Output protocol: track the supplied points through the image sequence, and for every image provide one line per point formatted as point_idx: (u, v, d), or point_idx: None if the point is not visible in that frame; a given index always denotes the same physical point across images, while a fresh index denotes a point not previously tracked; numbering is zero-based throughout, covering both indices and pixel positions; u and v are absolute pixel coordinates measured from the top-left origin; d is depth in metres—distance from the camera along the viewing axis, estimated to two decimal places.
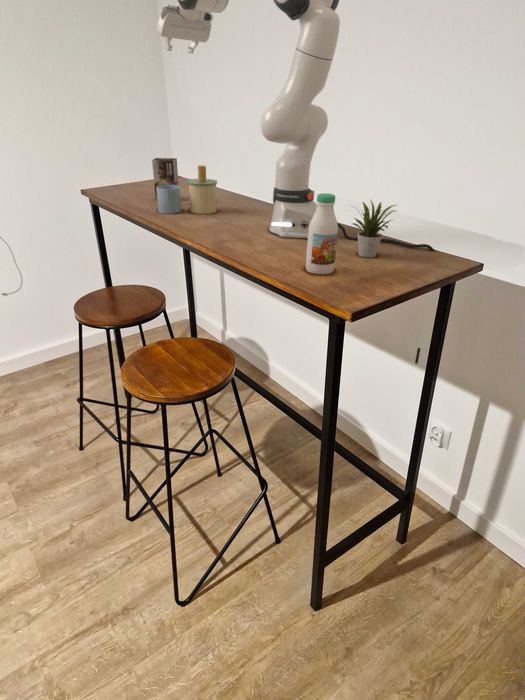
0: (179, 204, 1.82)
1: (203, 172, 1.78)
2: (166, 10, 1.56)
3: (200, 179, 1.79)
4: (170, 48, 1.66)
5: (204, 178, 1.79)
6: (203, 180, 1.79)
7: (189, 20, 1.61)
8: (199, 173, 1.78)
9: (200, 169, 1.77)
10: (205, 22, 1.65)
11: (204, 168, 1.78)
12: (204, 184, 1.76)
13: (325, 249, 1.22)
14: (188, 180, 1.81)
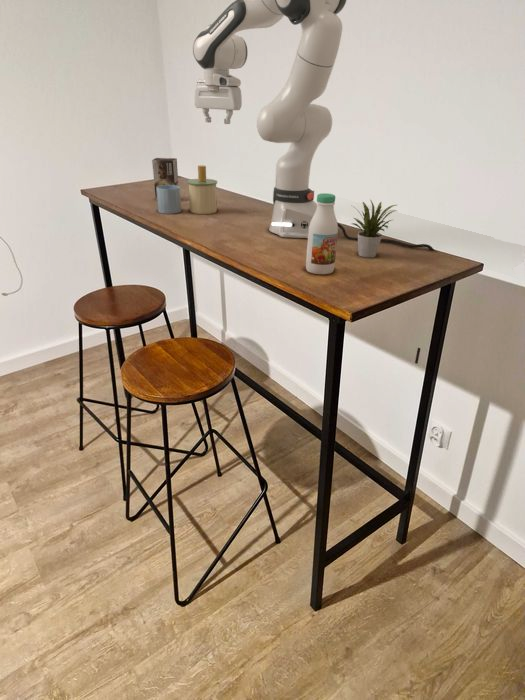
0: (179, 204, 1.82)
1: (203, 172, 1.78)
2: (198, 84, 1.73)
3: (200, 179, 1.79)
4: (206, 119, 1.75)
5: (204, 178, 1.79)
6: (203, 180, 1.79)
7: (209, 87, 1.67)
8: (199, 173, 1.78)
9: (200, 169, 1.77)
10: (224, 87, 1.63)
11: (204, 168, 1.78)
12: (204, 184, 1.76)
13: (325, 249, 1.22)
14: (188, 180, 1.81)
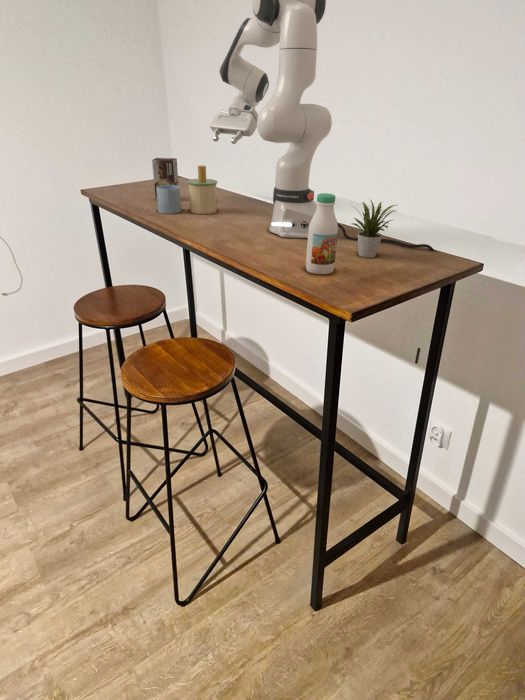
0: (179, 204, 1.82)
1: (203, 172, 1.78)
2: None
3: (200, 179, 1.79)
4: (214, 136, 1.85)
5: (204, 178, 1.79)
6: (203, 180, 1.79)
7: (231, 111, 1.82)
8: (199, 173, 1.78)
9: (200, 169, 1.77)
10: (246, 112, 1.79)
11: (204, 168, 1.78)
12: (204, 184, 1.76)
13: (325, 249, 1.22)
14: (188, 180, 1.81)
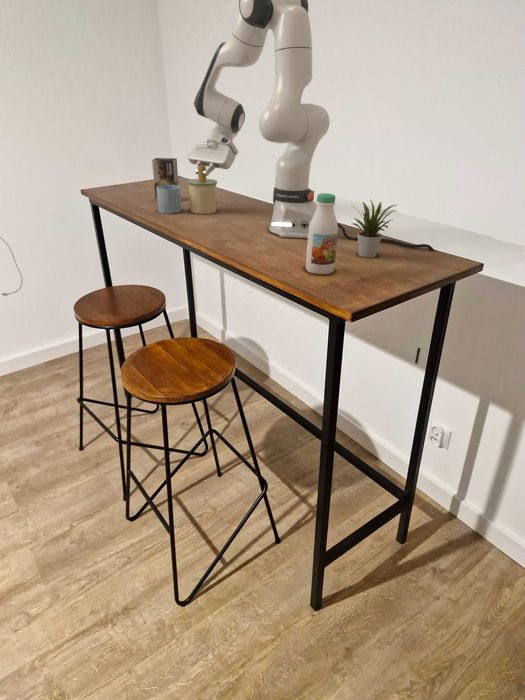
0: (179, 204, 1.82)
1: None
2: None
3: (200, 179, 1.79)
4: (197, 169, 1.80)
5: (204, 178, 1.79)
6: (203, 180, 1.79)
7: (209, 143, 1.79)
8: (199, 173, 1.78)
9: (200, 169, 1.77)
10: (223, 145, 1.75)
11: (204, 168, 1.78)
12: (204, 184, 1.76)
13: (325, 249, 1.22)
14: (188, 180, 1.81)
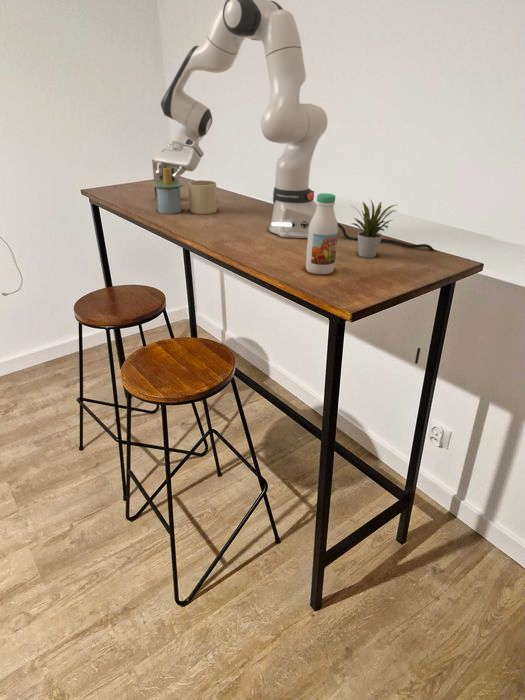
0: (179, 204, 1.82)
1: (168, 174, 1.77)
2: None
3: (165, 181, 1.78)
4: (157, 170, 1.79)
5: (169, 180, 1.78)
6: (168, 182, 1.78)
7: (174, 145, 1.77)
8: (164, 175, 1.77)
9: (165, 171, 1.76)
10: (188, 147, 1.74)
11: (169, 170, 1.76)
12: (169, 187, 1.75)
13: (325, 249, 1.22)
14: None
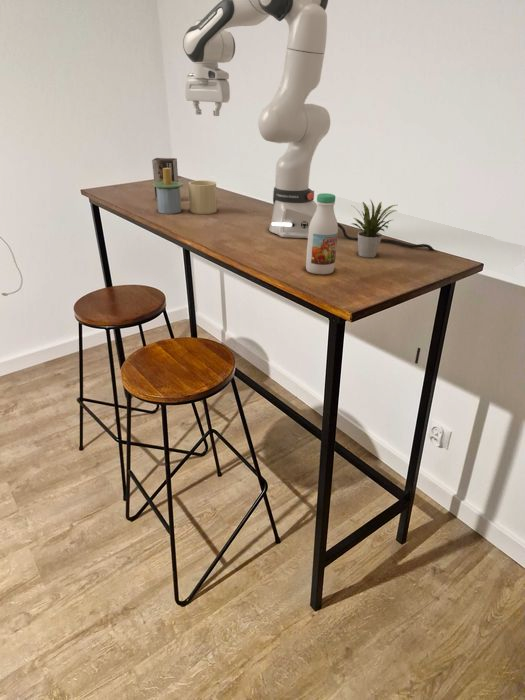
0: (179, 204, 1.82)
1: (168, 174, 1.77)
2: (188, 77, 1.80)
3: (165, 181, 1.78)
4: (196, 111, 1.83)
5: (169, 180, 1.78)
6: (168, 182, 1.78)
7: (198, 80, 1.74)
8: (164, 175, 1.77)
9: (165, 171, 1.76)
10: (213, 80, 1.71)
11: (169, 170, 1.76)
12: (169, 187, 1.75)
13: (325, 249, 1.22)
14: None
